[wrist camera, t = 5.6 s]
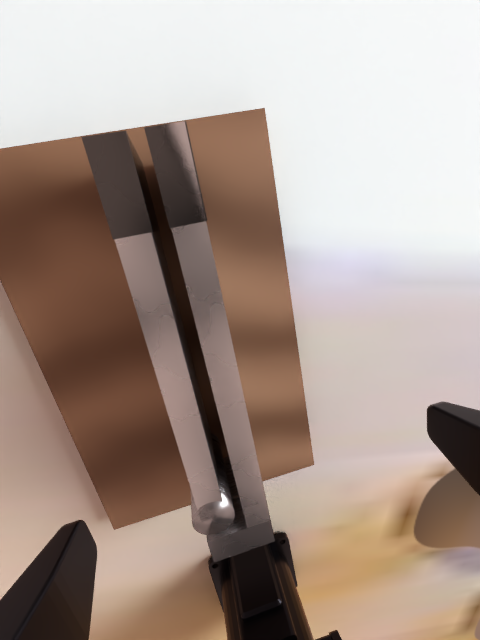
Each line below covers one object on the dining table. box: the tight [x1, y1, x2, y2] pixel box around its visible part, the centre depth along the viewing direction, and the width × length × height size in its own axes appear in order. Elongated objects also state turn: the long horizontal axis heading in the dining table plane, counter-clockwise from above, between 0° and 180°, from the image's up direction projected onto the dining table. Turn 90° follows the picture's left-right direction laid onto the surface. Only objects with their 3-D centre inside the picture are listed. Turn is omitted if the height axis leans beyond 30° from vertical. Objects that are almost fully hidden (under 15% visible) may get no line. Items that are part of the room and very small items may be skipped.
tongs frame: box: [144, 121, 275, 563], centre depth 15 cm, size 19×3×5 cm, turn 11°
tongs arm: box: [81, 130, 235, 535], centre depth 14 cm, size 17×2×5 cm, turn 10°
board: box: [0, 108, 314, 530], centre depth 18 cm, size 22×14×1 cm, turn 11°
